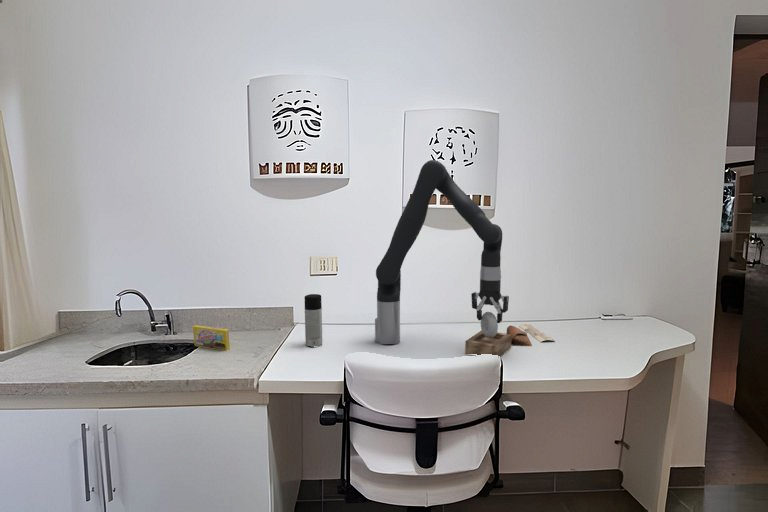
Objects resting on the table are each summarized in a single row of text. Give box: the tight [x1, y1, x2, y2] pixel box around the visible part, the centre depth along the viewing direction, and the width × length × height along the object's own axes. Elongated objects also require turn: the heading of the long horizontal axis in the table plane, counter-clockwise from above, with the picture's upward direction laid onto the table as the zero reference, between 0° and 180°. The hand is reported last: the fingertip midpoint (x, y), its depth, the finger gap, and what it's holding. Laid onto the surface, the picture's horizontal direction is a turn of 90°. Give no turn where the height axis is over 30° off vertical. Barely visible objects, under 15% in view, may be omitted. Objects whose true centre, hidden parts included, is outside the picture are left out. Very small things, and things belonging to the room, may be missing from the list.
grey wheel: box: [480, 311, 499, 339], centre depth 169 cm, size 10×4×10 cm, turn 13°
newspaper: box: [518, 323, 556, 343], centre depth 192 cm, size 24×7×2 cm, turn 4°
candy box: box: [192, 324, 231, 351], centre depth 174 cm, size 16×2×8 cm, turn 68°
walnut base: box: [464, 330, 512, 358], centre depth 170 cm, size 12×17×5 cm
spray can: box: [304, 293, 323, 348], centre depth 177 cm, size 7×7×20 cm
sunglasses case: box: [506, 325, 533, 347], centre depth 184 cm, size 18×7×7 cm
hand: (489, 321), depth 169 cm, fingers closed on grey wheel, 7 cm apart
